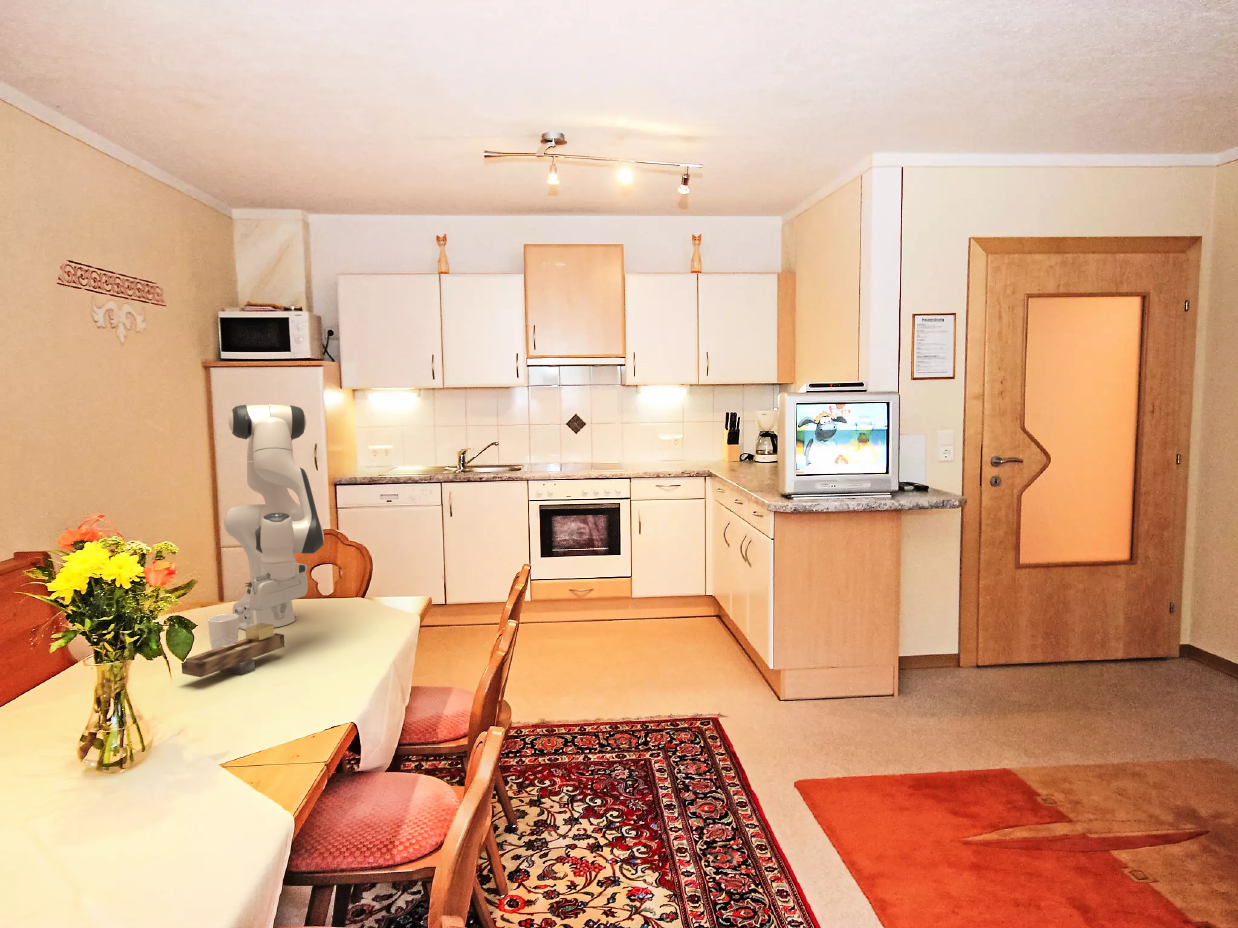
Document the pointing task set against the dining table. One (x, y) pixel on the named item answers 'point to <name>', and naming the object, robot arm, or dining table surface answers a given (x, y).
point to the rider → (259, 632)
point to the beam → (231, 657)
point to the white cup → (223, 630)
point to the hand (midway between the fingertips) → (280, 618)
